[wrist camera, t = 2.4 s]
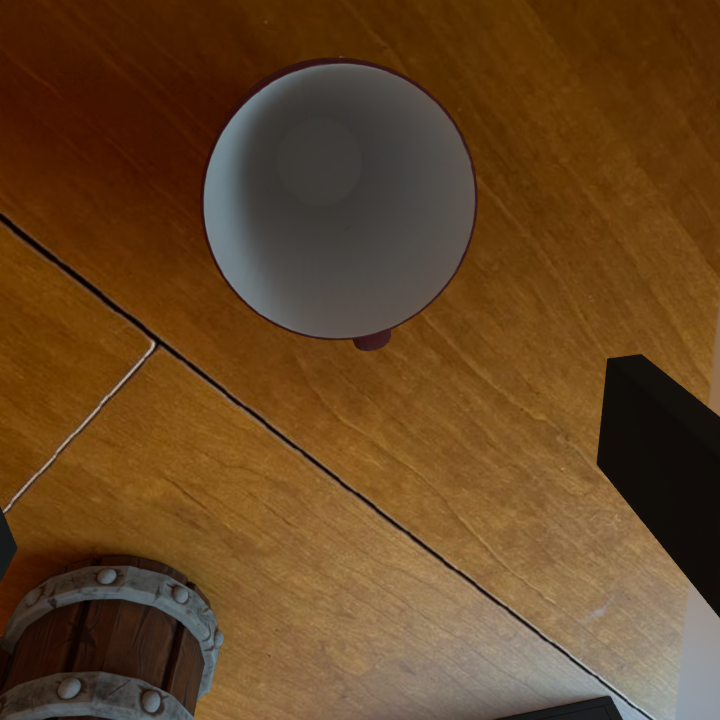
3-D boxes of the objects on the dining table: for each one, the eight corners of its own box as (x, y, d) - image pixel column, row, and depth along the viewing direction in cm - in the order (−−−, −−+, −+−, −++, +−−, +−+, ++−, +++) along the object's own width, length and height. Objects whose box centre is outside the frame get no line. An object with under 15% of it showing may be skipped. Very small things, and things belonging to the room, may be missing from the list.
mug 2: (453, 259, 30) (531, 346, 21) (296, 326, 30) (307, 439, 21) (371, 23, 25) (427, 5, 16) (187, 107, 26) (142, 134, 17)
